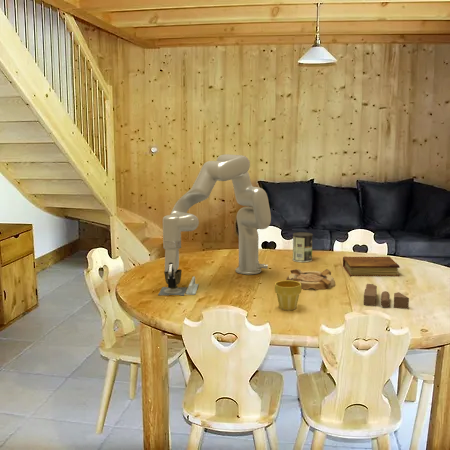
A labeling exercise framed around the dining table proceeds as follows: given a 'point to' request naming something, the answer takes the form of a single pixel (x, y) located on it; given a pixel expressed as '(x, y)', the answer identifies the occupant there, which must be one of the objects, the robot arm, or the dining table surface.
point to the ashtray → (313, 279)
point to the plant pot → (288, 294)
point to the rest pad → (173, 291)
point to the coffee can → (302, 247)
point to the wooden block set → (384, 298)
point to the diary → (370, 266)
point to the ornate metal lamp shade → (177, 276)
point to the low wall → (192, 287)
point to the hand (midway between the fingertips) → (173, 284)
